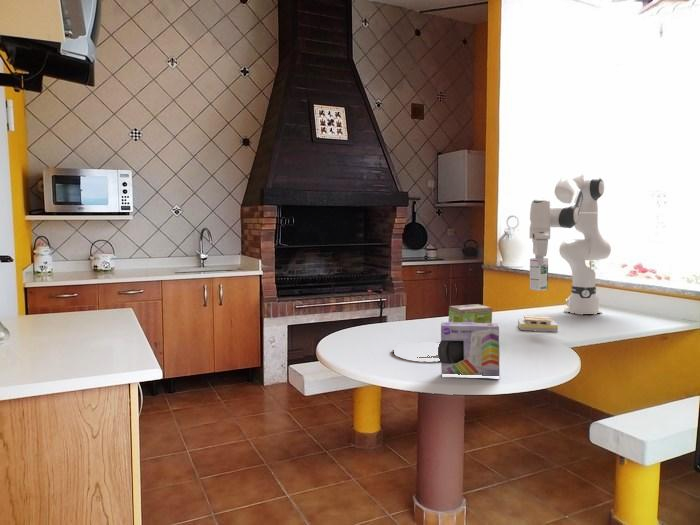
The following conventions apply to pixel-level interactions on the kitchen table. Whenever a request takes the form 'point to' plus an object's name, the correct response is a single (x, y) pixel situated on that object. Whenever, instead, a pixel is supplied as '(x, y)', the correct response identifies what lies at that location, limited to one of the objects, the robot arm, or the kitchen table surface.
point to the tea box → (470, 313)
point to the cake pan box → (469, 348)
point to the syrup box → (538, 275)
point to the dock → (538, 326)
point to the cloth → (537, 319)
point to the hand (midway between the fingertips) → (539, 265)
